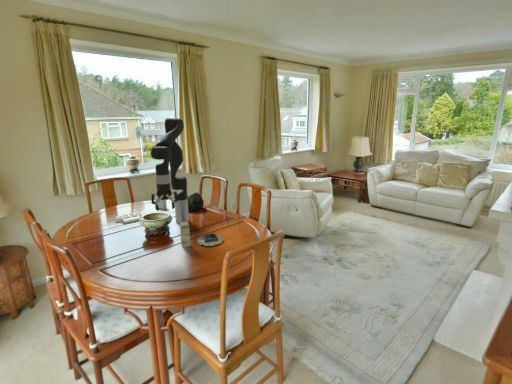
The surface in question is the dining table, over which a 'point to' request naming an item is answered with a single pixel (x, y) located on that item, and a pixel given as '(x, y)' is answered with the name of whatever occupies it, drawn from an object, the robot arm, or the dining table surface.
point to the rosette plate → (209, 239)
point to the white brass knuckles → (129, 217)
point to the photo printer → (161, 203)
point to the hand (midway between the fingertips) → (165, 209)
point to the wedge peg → (185, 234)
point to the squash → (195, 202)
